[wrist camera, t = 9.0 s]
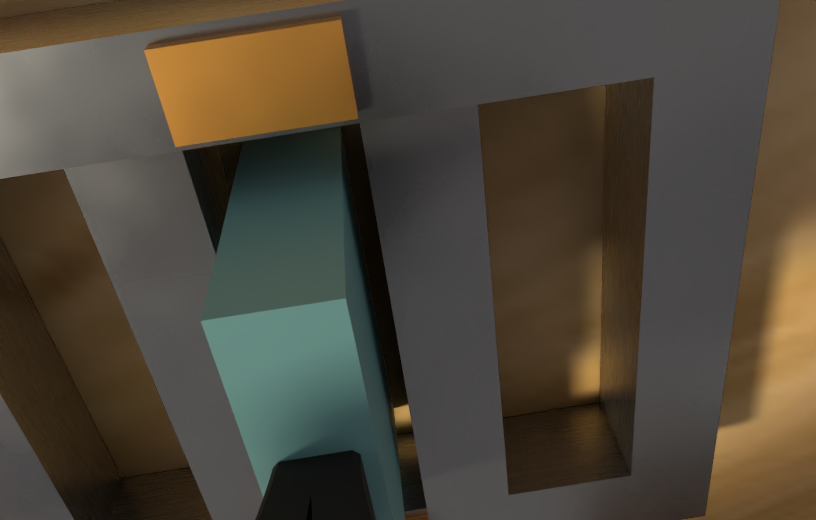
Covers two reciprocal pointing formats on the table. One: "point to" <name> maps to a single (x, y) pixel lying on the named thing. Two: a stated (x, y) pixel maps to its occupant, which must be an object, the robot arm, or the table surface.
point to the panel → (301, 315)
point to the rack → (390, 234)
